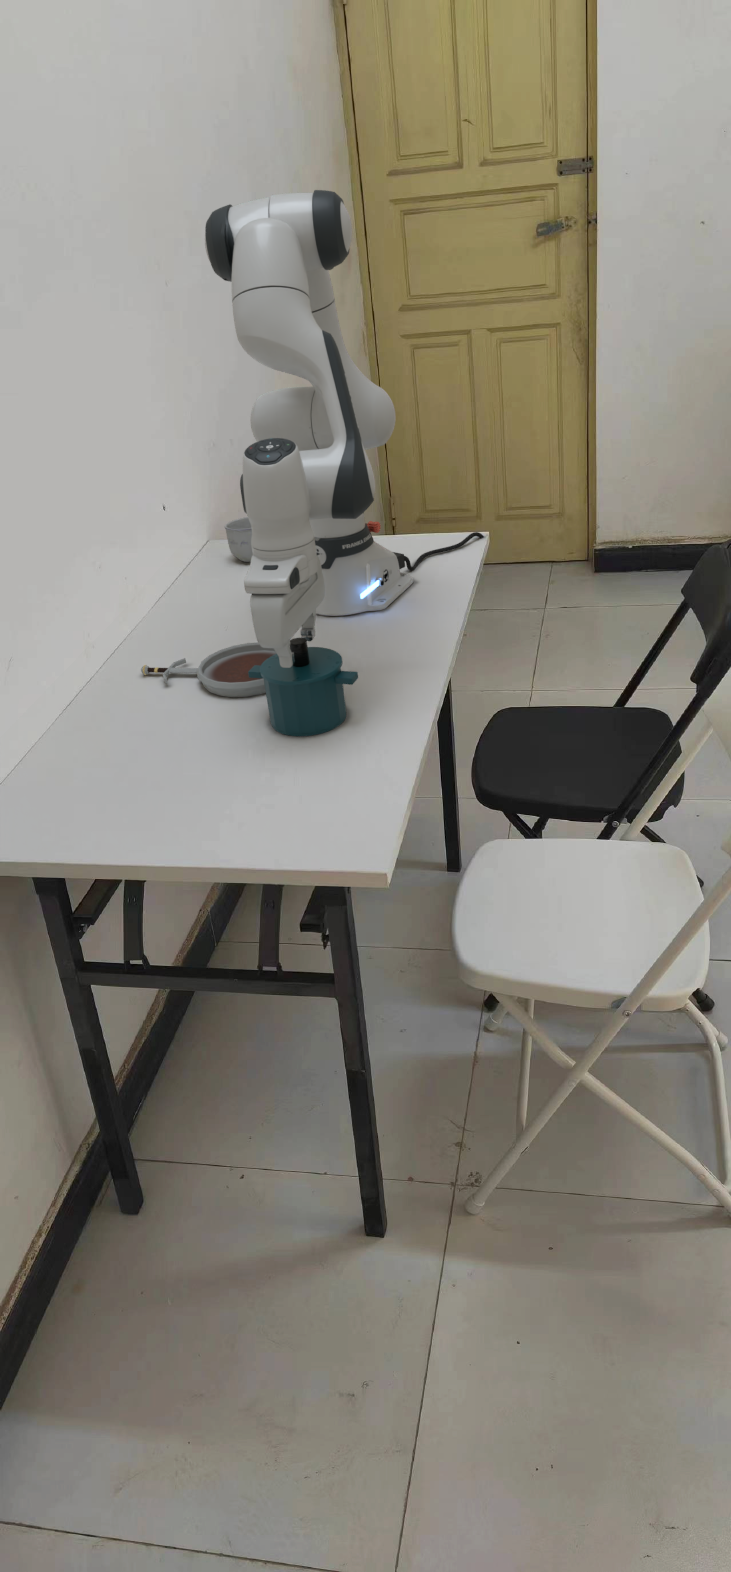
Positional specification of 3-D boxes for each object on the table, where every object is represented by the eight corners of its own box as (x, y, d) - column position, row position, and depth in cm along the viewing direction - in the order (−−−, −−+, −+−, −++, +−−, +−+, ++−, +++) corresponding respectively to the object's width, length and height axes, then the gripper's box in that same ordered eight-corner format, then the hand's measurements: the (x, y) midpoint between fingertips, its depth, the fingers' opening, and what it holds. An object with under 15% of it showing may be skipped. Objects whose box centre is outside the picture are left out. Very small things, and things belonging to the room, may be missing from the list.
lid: (281, 651, 172) (277, 622, 169) (355, 656, 167) (351, 626, 165) (247, 686, 162) (241, 655, 159) (324, 691, 158) (319, 660, 155)
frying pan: (159, 641, 195) (311, 639, 187) (163, 656, 197) (313, 655, 189) (117, 683, 181) (279, 683, 173) (121, 700, 183) (282, 700, 175)
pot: (274, 698, 176) (266, 648, 172) (373, 705, 170) (368, 654, 166) (242, 731, 167) (233, 680, 163) (346, 740, 161) (339, 687, 157)
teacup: (224, 567, 234) (218, 530, 230) (238, 550, 243) (232, 514, 239) (288, 564, 231) (283, 527, 227) (299, 547, 240) (295, 510, 236)
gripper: (289, 537, 165) (301, 624, 172) (238, 586, 149) (254, 680, 155) (329, 537, 164) (339, 625, 170) (282, 586, 147) (296, 682, 154)
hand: (298, 652), depth 163 cm, fingers open, 8 cm apart
